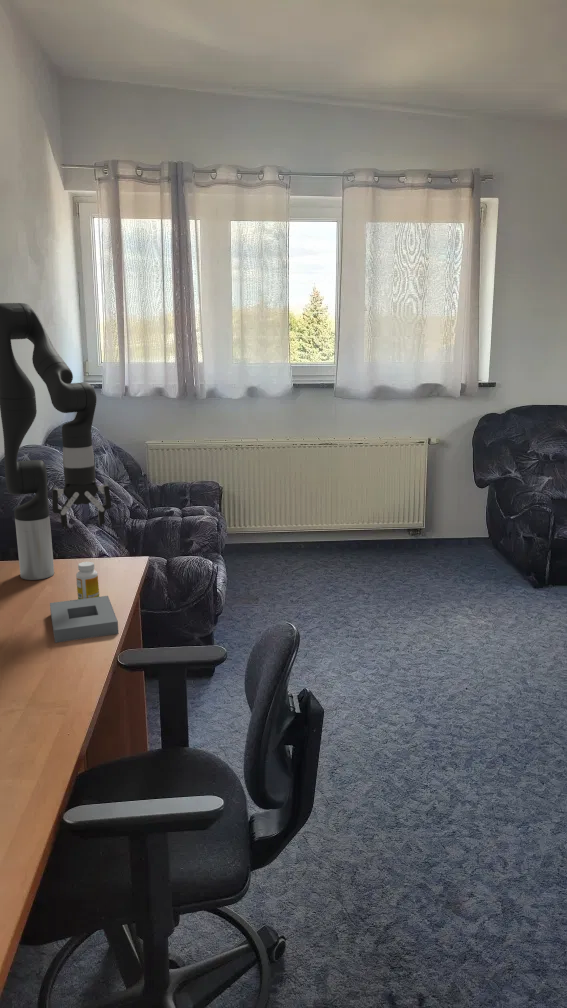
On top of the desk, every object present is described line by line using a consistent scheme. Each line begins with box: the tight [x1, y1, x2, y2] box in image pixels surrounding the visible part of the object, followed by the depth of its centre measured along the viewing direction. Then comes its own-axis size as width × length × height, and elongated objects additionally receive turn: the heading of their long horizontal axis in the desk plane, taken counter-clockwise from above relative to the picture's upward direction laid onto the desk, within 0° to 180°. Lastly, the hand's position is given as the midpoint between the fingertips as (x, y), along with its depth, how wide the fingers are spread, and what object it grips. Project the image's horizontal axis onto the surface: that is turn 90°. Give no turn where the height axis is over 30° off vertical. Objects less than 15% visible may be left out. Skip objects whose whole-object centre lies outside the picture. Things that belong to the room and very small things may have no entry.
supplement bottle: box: [75, 561, 100, 600], centre depth 186 cm, size 5×5×10 cm
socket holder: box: [49, 595, 119, 644], centre depth 171 cm, size 18×14×3 cm
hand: (83, 526), depth 183 cm, fingers open, 8 cm apart
